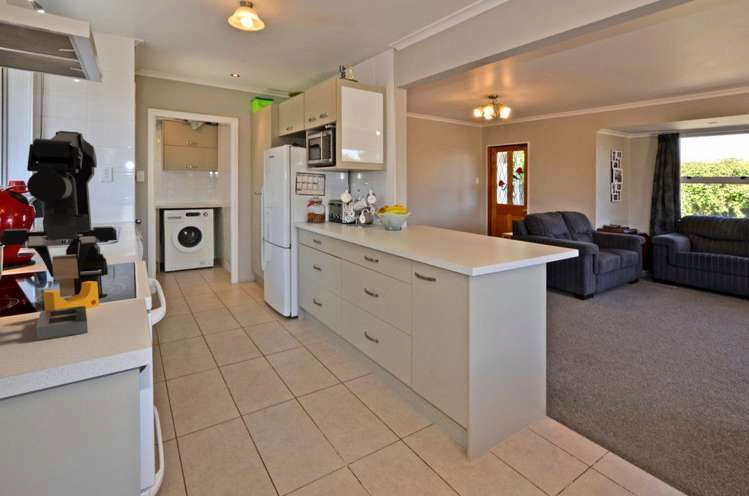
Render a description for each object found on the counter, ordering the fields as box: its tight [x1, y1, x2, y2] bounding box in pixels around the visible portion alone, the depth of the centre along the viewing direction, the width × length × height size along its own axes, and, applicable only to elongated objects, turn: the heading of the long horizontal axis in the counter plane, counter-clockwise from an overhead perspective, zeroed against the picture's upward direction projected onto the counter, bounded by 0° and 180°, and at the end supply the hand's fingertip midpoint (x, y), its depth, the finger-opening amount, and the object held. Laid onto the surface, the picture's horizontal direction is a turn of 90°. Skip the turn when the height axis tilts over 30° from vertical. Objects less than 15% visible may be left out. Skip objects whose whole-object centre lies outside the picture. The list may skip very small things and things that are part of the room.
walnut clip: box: [51, 254, 78, 298], centre depth 85 cm, size 8×4×8 cm, turn 38°
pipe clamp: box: [43, 281, 100, 311], centre depth 97 cm, size 12×4×6 cm, turn 172°
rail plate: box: [35, 306, 89, 341], centre depth 86 cm, size 14×8×2 cm, turn 37°
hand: (65, 275), depth 85 cm, fingers closed on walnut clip, 4 cm apart
